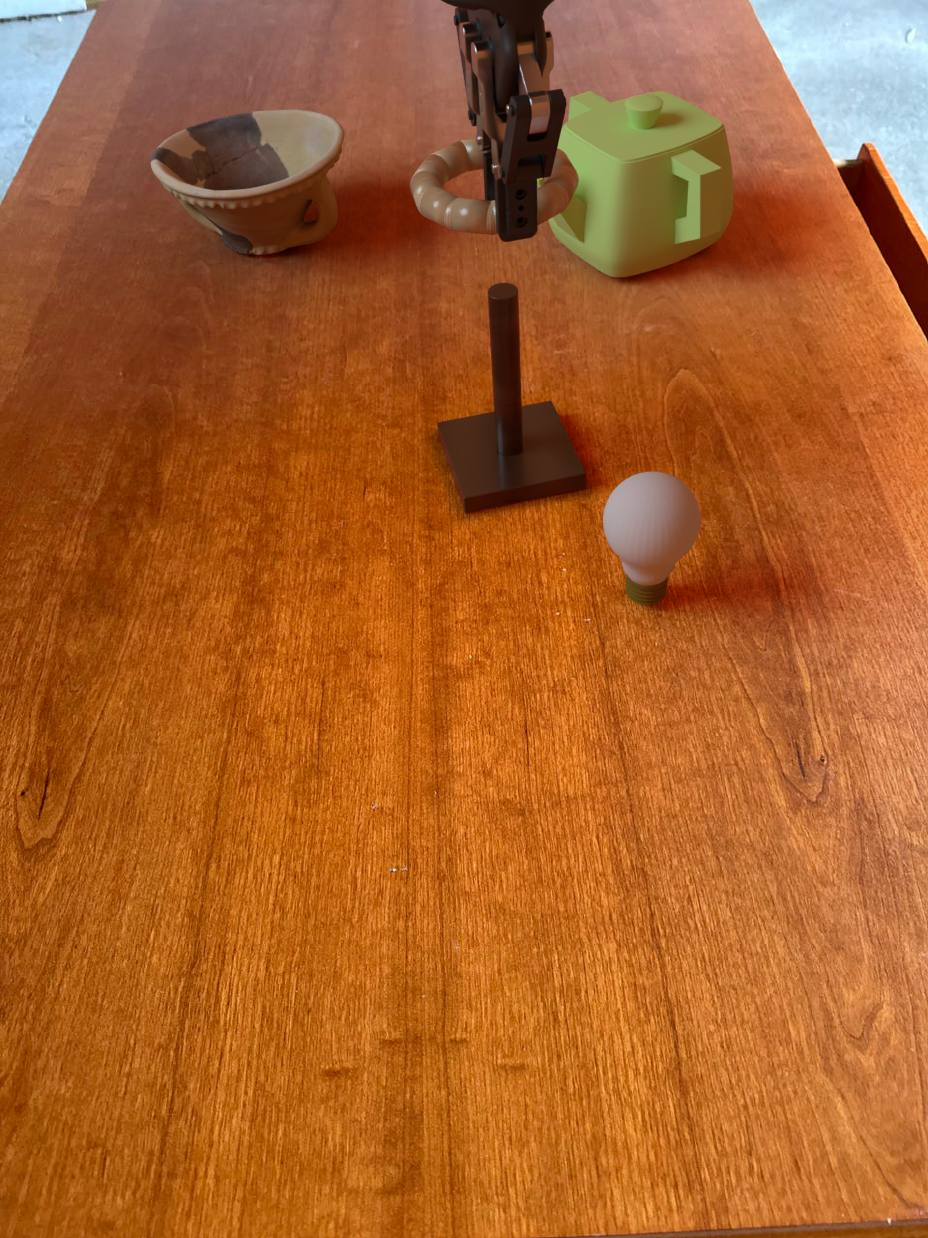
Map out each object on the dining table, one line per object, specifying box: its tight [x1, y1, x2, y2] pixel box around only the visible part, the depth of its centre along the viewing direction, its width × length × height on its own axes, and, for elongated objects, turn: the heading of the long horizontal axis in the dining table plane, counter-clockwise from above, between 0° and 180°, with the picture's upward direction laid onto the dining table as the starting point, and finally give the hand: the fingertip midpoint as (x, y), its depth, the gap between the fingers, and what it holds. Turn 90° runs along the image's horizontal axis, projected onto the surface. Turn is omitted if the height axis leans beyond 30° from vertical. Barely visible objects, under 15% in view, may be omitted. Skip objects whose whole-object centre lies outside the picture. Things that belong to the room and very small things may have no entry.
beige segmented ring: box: [409, 137, 579, 236], centre depth 67 cm, size 10×10×2 cm
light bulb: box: [602, 470, 702, 606], centre depth 71 cm, size 6×6×10 cm
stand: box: [436, 282, 587, 514], centre depth 80 cm, size 9×9×14 cm
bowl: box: [150, 109, 346, 256], centre depth 106 cm, size 18×18×10 cm
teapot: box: [537, 90, 734, 278], centre depth 99 cm, size 18×20×13 cm
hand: (511, 224), depth 65 cm, fingers closed on beige segmented ring, 2 cm apart
